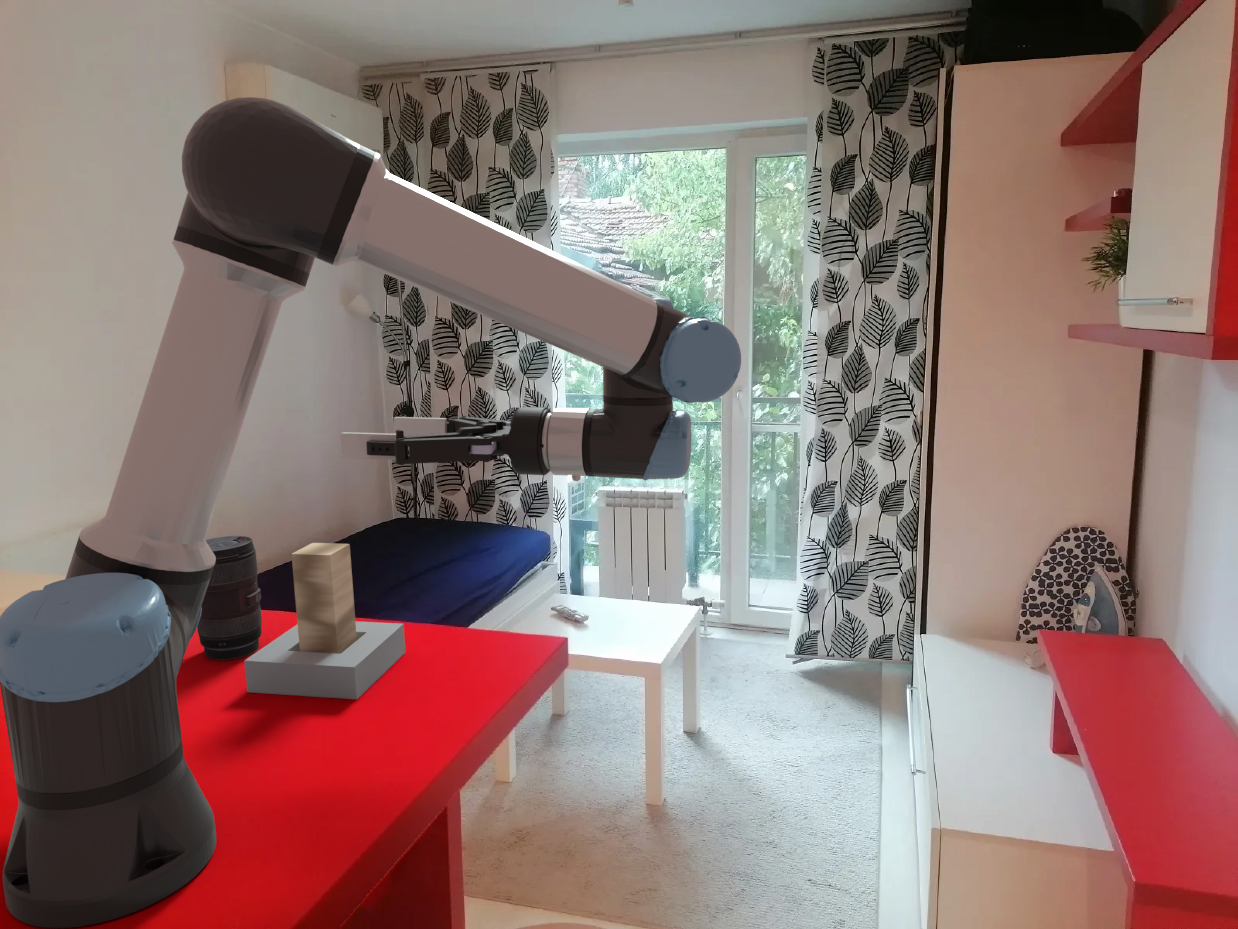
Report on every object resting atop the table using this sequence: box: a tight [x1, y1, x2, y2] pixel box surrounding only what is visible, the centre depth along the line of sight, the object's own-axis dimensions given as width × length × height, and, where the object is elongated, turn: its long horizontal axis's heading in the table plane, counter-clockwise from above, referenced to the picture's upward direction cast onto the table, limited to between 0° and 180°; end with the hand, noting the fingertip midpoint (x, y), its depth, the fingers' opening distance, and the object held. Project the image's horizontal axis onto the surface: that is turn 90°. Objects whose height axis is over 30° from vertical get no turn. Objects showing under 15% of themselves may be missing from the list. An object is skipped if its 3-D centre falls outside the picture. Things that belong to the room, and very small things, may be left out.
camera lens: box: [196, 535, 263, 661], centre depth 116 cm, size 8×8×15 cm
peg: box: [291, 542, 357, 654], centre depth 109 cm, size 5×5×16 cm
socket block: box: [243, 620, 406, 700], centre depth 110 cm, size 14×14×4 cm
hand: (370, 436), depth 101 cm, fingers open, 13 cm apart
